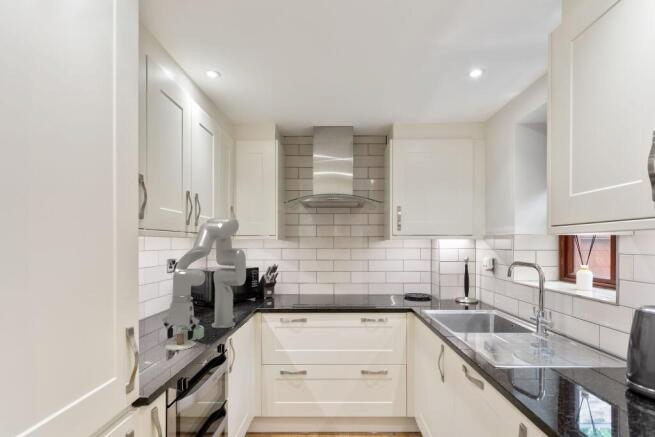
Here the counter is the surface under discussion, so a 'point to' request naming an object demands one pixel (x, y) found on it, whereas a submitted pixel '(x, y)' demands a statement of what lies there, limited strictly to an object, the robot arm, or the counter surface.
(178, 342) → the lid
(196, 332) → the bowl
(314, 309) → the counter surface
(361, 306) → the counter surface
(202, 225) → the robot arm
